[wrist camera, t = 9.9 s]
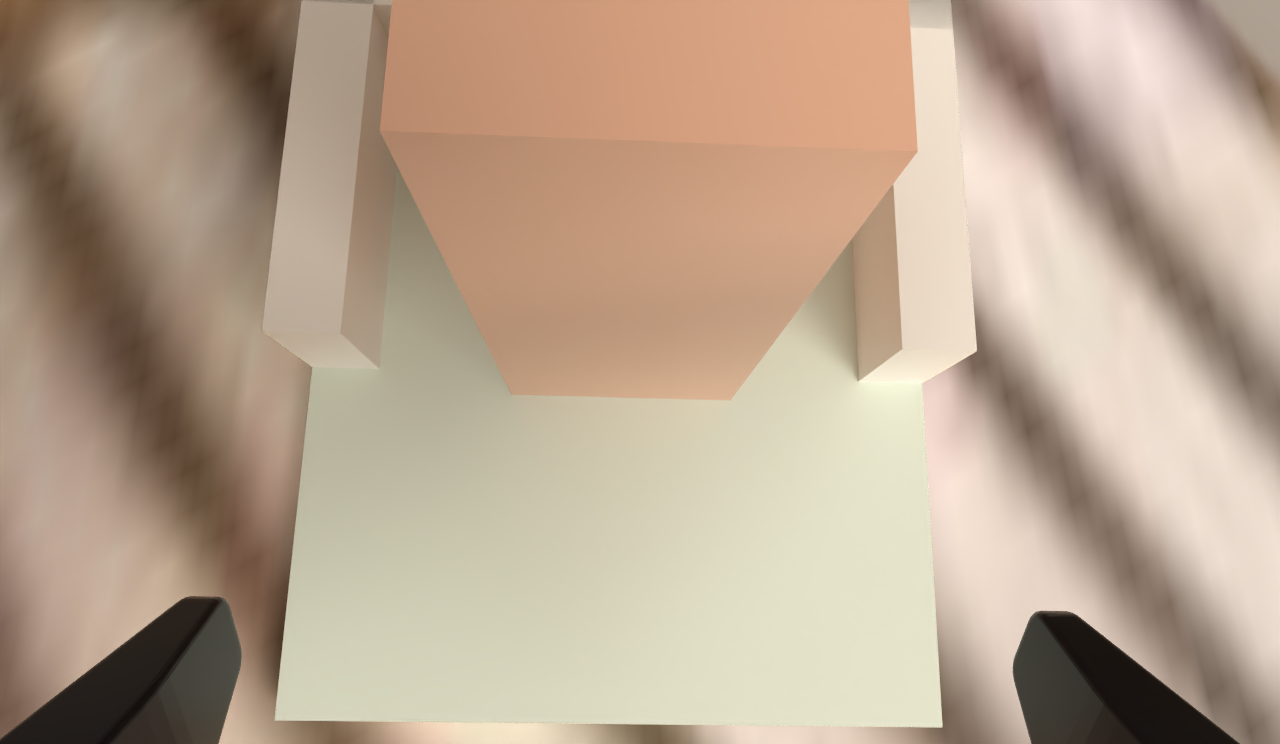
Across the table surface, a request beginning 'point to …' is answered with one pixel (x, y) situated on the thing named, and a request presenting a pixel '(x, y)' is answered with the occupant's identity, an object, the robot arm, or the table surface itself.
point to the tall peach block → (644, 173)
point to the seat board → (603, 462)
